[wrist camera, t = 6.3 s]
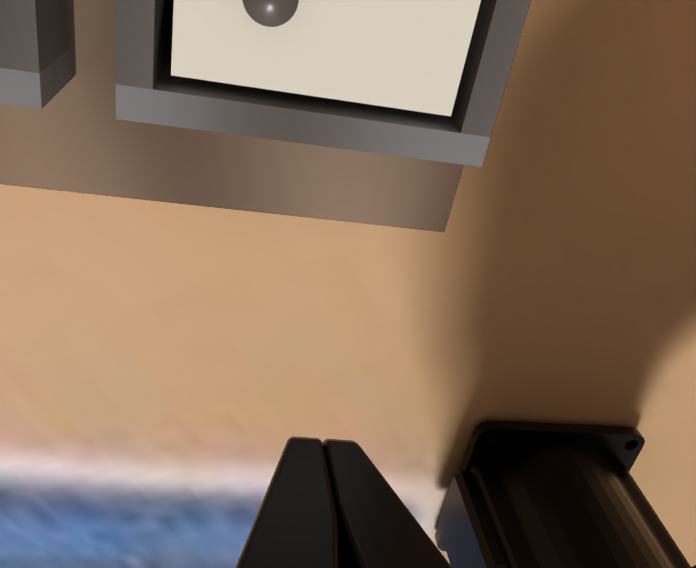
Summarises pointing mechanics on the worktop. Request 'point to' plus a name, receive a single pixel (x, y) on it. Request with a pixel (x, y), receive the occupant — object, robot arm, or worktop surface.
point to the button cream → (330, 48)
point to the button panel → (228, 122)
